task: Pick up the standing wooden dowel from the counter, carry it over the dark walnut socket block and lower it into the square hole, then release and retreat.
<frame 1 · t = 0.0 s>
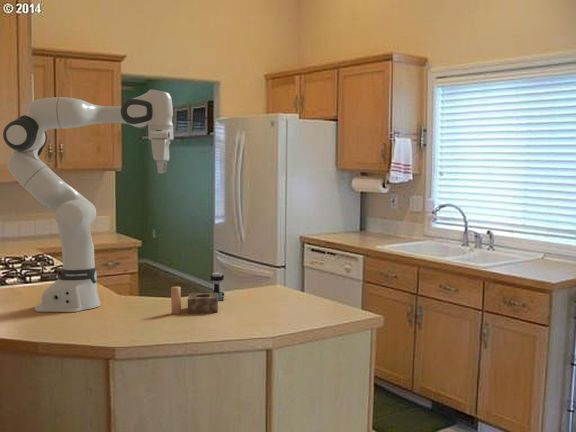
hand: (162, 173, 227), 48 cm above the countertop, fingers open, 8 cm apart
push button: (218, 300, 237), on the countertop
socket block: (203, 309, 220), on the countertop
dowel: (176, 313, 215), on the countertop
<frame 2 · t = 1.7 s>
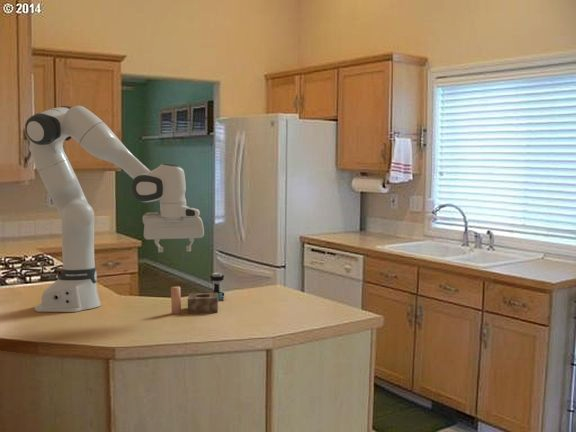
hand: (174, 251, 213), 21 cm above the countertop, fingers open, 8 cm apart
nothing on the countertop moved.
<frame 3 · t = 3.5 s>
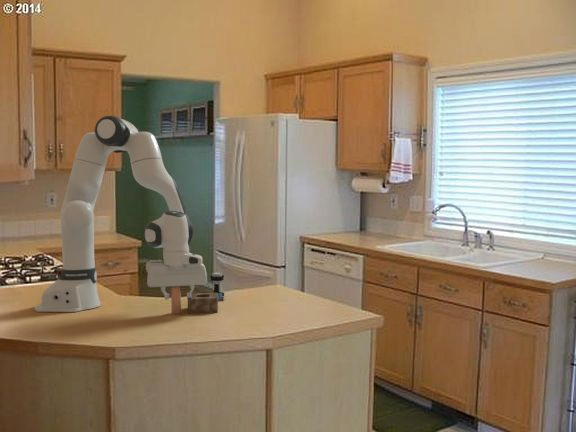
hand: (178, 298, 215), 5 cm above the countertop, fingers open, 6 cm apart
nothing on the countertop moved.
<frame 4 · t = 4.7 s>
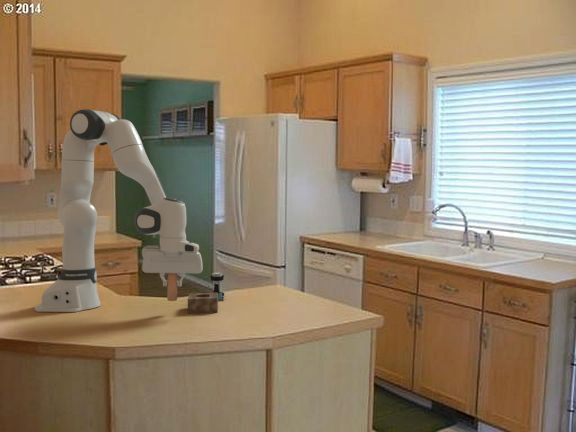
hand: (172, 286, 213), 10 cm above the countertop, fingers closed on dowel, 3 cm apart
dowel: (172, 299, 214), point 5 cm above the countertop, touching gripper
everything else where it was.
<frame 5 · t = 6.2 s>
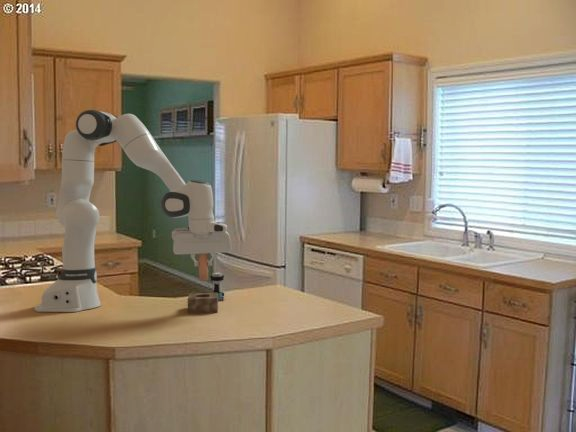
hand: (203, 266, 219), 15 cm above the countertop, fingers closed on dowel, 3 cm apart
dowel: (203, 279, 219), point 11 cm above the countertop, touching gripper
everything else where it was.
when the fingers open (6 cm above the countertop, at t = 8.4 s): dowel drops 1 cm, resting in socket block.
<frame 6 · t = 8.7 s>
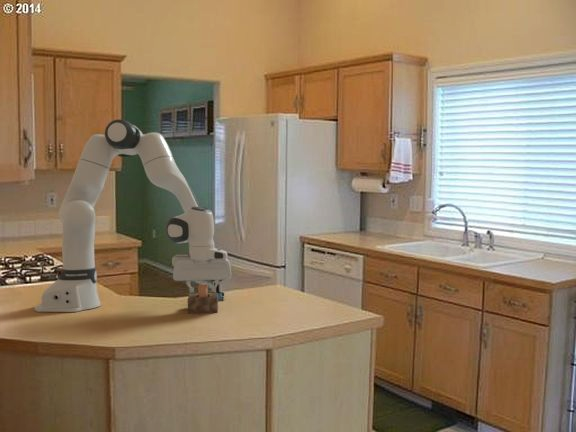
hand: (202, 292, 219), 6 cm above the countertop, fingers open, 6 cm apart
dowel: (203, 309, 220), resting in socket block
everything else where it was.
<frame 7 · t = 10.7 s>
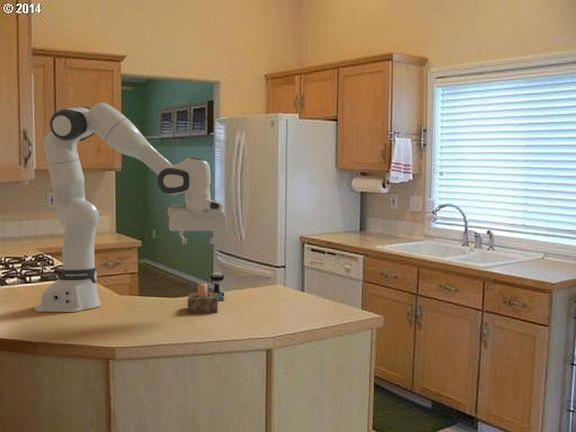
hand: (198, 243, 219), 23 cm above the countertop, fingers open, 8 cm apart
nothing on the countertop moved.
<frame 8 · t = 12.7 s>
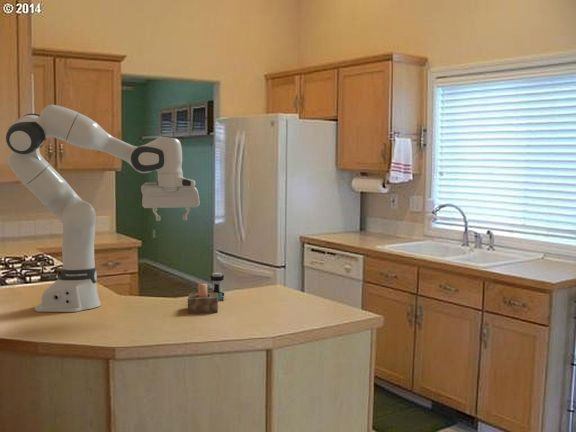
hand: (171, 220, 224), 31 cm above the countertop, fingers open, 8 cm apart
nothing on the countertop moved.
at the end: dowel 0.2 cm from the socket block (horizontally); dowel resting in socket block; dowel tilted 0° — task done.
